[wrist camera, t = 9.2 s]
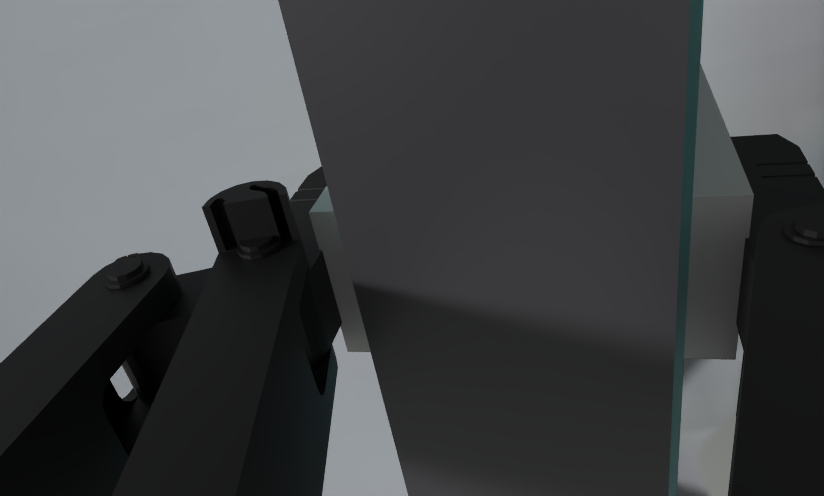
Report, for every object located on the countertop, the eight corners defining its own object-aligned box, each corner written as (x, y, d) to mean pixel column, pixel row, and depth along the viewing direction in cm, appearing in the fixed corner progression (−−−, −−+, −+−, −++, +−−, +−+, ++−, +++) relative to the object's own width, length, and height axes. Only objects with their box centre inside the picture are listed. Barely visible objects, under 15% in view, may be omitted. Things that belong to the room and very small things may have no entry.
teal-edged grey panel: (414, -187, 14) (209, -165, 6) (650, -237, 12) (737, -281, 5) (482, 293, 20) (419, 584, 12) (644, 291, 19) (679, 613, 11)
